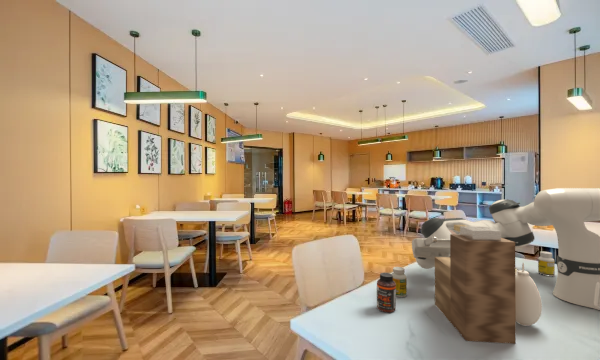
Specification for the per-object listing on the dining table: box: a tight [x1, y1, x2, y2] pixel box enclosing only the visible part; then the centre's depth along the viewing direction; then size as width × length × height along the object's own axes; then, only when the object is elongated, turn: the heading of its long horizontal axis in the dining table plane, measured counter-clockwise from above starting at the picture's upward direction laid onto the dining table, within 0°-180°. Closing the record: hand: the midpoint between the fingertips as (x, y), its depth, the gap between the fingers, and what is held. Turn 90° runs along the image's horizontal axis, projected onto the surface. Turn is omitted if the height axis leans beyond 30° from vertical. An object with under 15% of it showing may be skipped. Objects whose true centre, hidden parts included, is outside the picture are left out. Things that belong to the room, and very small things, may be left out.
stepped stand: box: [434, 233, 517, 345], centre depth 80 cm, size 12×21×26 cm, turn 174°
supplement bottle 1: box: [376, 272, 397, 314], centre depth 88 cm, size 6×6×11 cm
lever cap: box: [454, 225, 501, 241], centre depth 79 cm, size 7×16×2 cm, turn 174°
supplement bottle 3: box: [537, 251, 556, 277], centre depth 120 cm, size 5×5×10 cm
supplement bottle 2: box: [391, 266, 408, 298], centre depth 100 cm, size 5×5×10 cm
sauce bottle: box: [515, 262, 543, 327], centre depth 79 cm, size 8×8×18 cm
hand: (449, 239), depth 93 cm, fingers open, 8 cm apart
